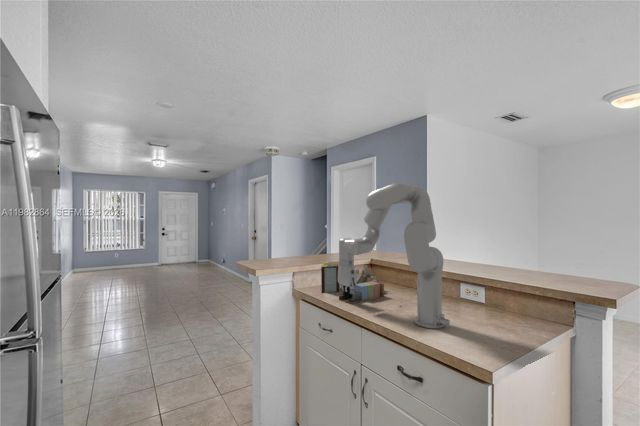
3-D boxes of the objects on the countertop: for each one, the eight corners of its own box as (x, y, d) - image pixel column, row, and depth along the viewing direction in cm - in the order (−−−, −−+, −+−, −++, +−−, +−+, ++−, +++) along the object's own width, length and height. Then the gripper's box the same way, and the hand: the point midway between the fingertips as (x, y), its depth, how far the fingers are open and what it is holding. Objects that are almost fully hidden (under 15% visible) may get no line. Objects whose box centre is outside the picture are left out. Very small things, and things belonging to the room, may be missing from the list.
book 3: (380, 296, 164) (379, 283, 164) (374, 297, 161) (374, 284, 161) (372, 294, 169) (372, 281, 169) (366, 295, 166) (366, 282, 166)
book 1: (367, 299, 159) (367, 285, 159) (361, 300, 157) (361, 286, 157) (360, 296, 164) (360, 283, 164) (354, 297, 162) (354, 284, 162)
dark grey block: (361, 300, 157) (361, 292, 157) (352, 302, 153) (352, 294, 153) (354, 297, 162) (353, 290, 162) (345, 299, 158) (345, 291, 158)
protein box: (340, 287, 189) (340, 262, 189) (339, 293, 173) (339, 266, 173) (323, 286, 190) (323, 261, 190) (321, 293, 174) (320, 266, 174)
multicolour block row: (383, 298, 163) (383, 283, 163) (350, 306, 150) (349, 289, 150) (372, 294, 171) (372, 280, 171) (338, 301, 158) (338, 286, 158)
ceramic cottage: (347, 289, 183) (348, 264, 182) (372, 288, 187) (374, 264, 187) (356, 297, 168) (358, 270, 167) (384, 296, 172) (385, 270, 171)
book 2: (373, 297, 161) (373, 284, 161) (368, 299, 159) (368, 285, 159) (366, 295, 166) (366, 282, 166) (360, 296, 164) (360, 283, 164)
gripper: (361, 264, 151) (361, 301, 151) (343, 260, 163) (343, 294, 163) (350, 265, 147) (349, 304, 147) (331, 261, 159) (331, 296, 159)
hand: (346, 299), depth 155 cm, fingers closed
